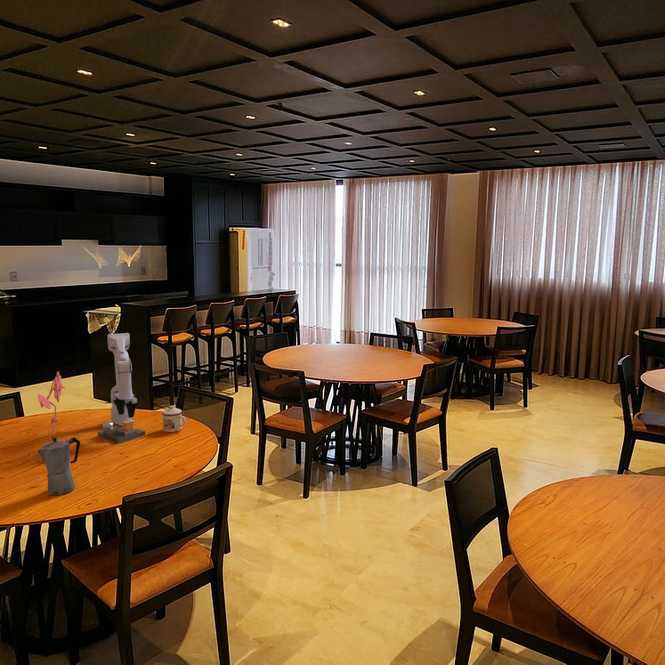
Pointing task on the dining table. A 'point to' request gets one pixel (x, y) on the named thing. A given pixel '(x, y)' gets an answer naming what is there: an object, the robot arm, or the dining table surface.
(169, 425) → the teacup with lid
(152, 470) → the dining table surface
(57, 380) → the pink orchid stem
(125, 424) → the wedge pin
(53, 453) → the moka pot
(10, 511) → the dining table surface
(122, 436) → the grey base plate
